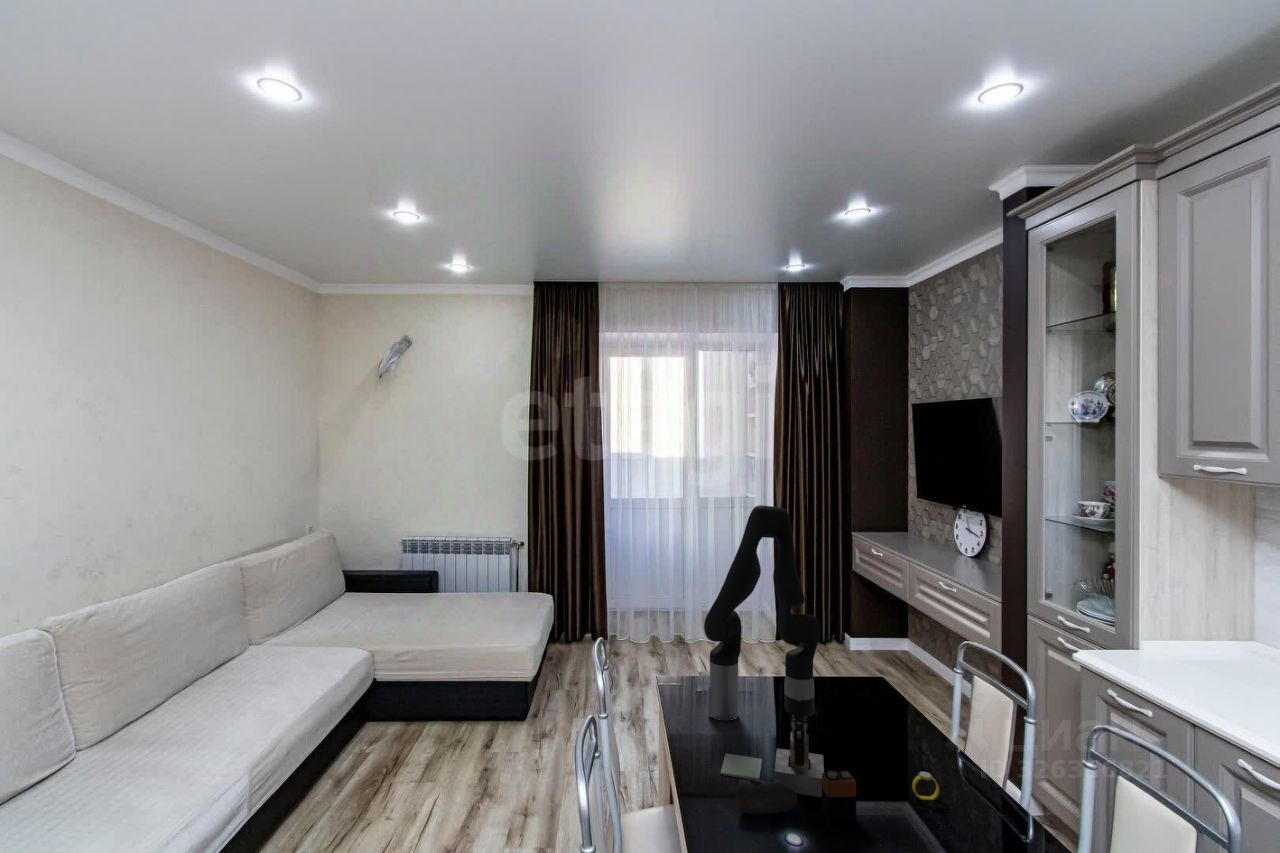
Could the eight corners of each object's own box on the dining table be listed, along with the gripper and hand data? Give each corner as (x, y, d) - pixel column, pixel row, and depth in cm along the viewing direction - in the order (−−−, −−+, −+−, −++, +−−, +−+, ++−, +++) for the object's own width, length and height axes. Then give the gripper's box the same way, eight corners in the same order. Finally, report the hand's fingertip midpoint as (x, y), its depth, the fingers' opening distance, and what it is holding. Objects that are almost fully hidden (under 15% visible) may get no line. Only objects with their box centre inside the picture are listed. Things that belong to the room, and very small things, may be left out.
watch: (916, 802, 143) (913, 777, 143) (911, 795, 145) (909, 771, 146) (941, 802, 142) (939, 777, 142) (937, 795, 145) (934, 771, 145)
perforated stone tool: (794, 805, 141) (794, 775, 141) (801, 819, 135) (800, 788, 136) (732, 805, 140) (732, 775, 141) (736, 818, 135) (736, 787, 136)
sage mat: (720, 774, 154) (720, 772, 154) (725, 755, 163) (725, 753, 163) (759, 780, 151) (759, 778, 151) (762, 761, 161) (762, 758, 161)
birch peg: (790, 784, 149) (790, 740, 150) (790, 774, 154) (790, 732, 154) (808, 786, 148) (808, 742, 149) (808, 777, 153) (808, 734, 153)
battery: (821, 811, 138) (820, 768, 139) (848, 810, 139) (848, 767, 139) (828, 823, 134) (828, 778, 134) (857, 821, 134) (856, 777, 135)
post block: (774, 789, 147) (774, 771, 147) (776, 765, 158) (776, 748, 159) (824, 797, 144) (824, 779, 144) (823, 772, 155) (823, 754, 155)
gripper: (785, 680, 160) (785, 744, 159) (783, 702, 146) (783, 772, 145) (814, 684, 158) (814, 748, 157) (814, 705, 144) (814, 776, 143)
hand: (799, 759), depth 151 cm, fingers closed on birch peg, 4 cm apart
